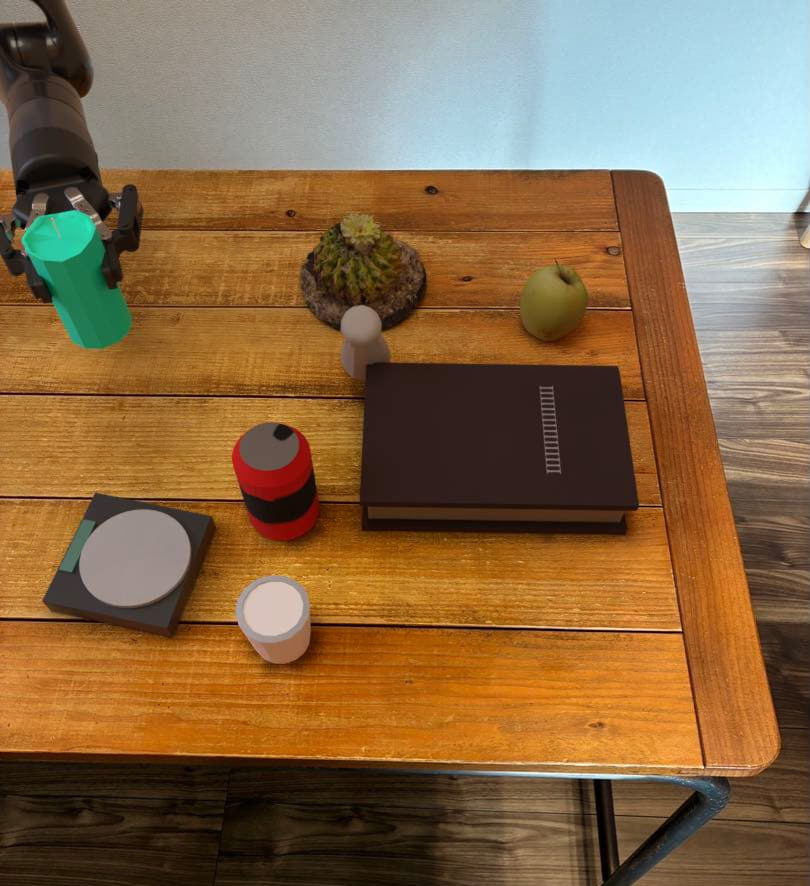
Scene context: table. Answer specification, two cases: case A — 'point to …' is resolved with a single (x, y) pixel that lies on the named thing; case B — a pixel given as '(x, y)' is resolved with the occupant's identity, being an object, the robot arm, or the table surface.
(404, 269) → the cactus
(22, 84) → the robot arm
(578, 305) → the apple
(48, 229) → the candle
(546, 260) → the table surface
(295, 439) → the soda can
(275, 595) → the yogurt cup
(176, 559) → the kitchen scale
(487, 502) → the book
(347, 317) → the salt shaker
